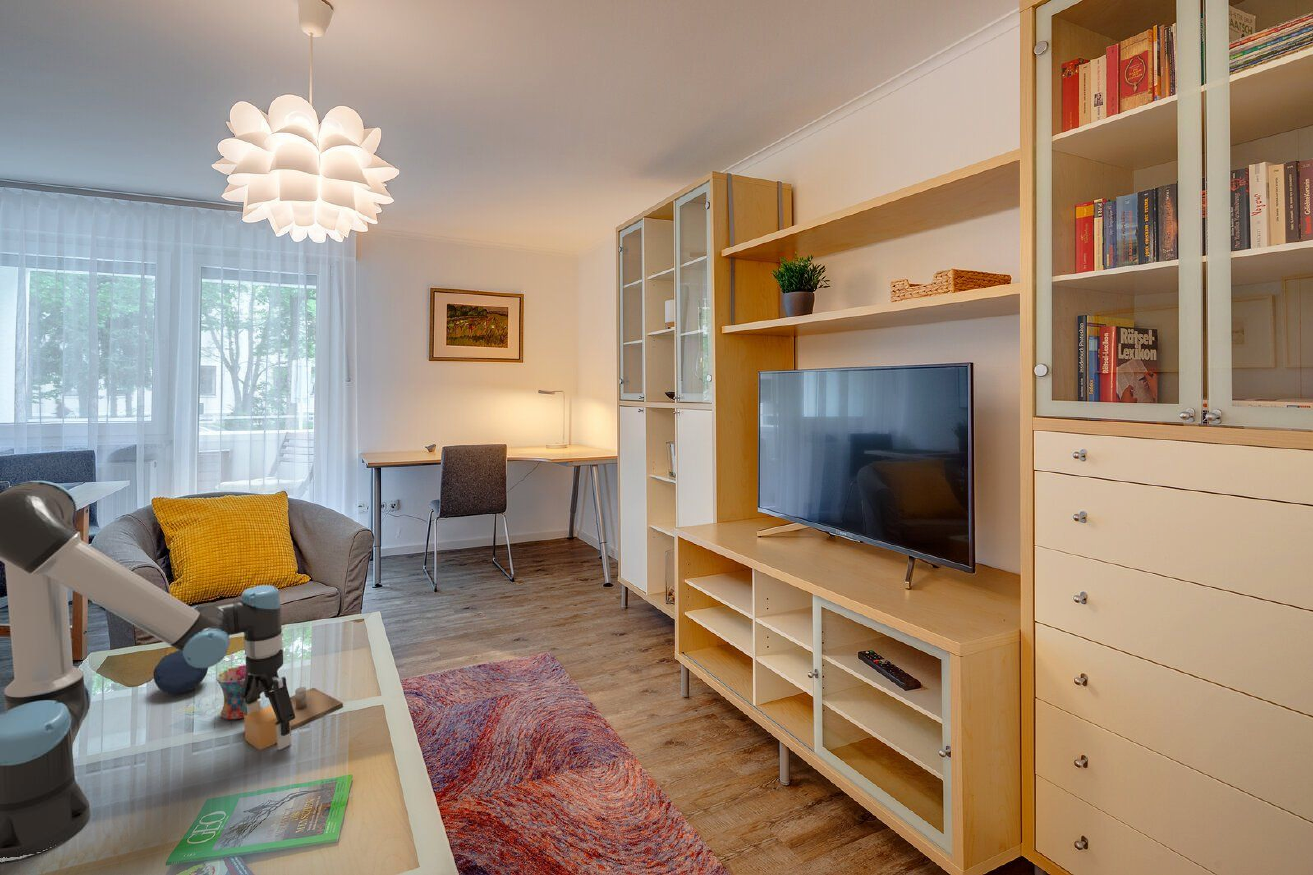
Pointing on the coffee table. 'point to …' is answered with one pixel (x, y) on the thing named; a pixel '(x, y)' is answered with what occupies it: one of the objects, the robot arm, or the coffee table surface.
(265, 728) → the tan cardboard box
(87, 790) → the coffee table surface
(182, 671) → the decorative stone
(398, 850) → the coffee table surface
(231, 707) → the mug
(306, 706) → the post board
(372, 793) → the coffee table surface
